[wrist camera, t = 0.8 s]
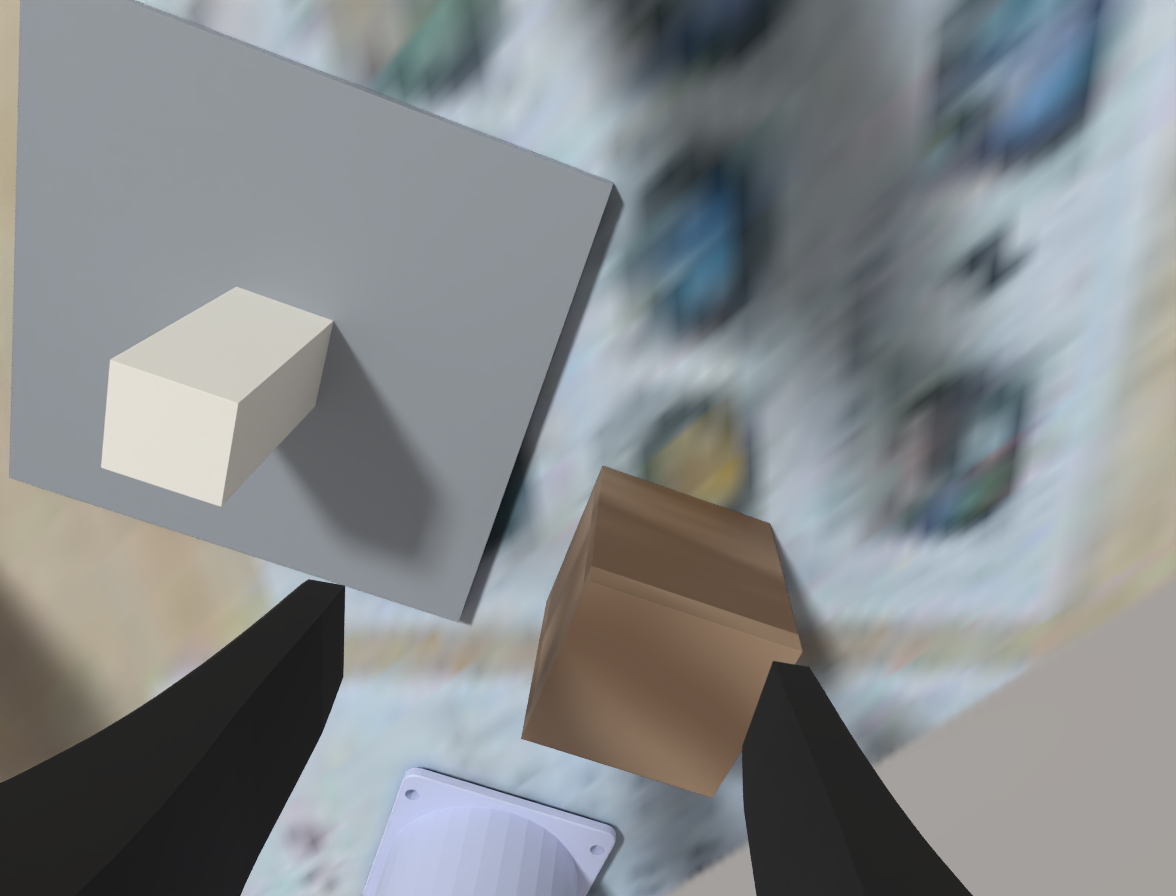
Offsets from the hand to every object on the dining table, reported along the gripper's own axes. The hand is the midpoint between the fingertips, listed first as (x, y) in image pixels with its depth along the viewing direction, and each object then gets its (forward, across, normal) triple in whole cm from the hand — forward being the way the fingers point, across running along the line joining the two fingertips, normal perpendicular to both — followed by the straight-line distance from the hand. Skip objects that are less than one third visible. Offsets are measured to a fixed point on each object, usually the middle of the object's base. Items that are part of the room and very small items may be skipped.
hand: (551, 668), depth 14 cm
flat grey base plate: (+10, +9, 0) cm, 13 cm away
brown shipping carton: (+10, -3, +5) cm, 11 cm away
